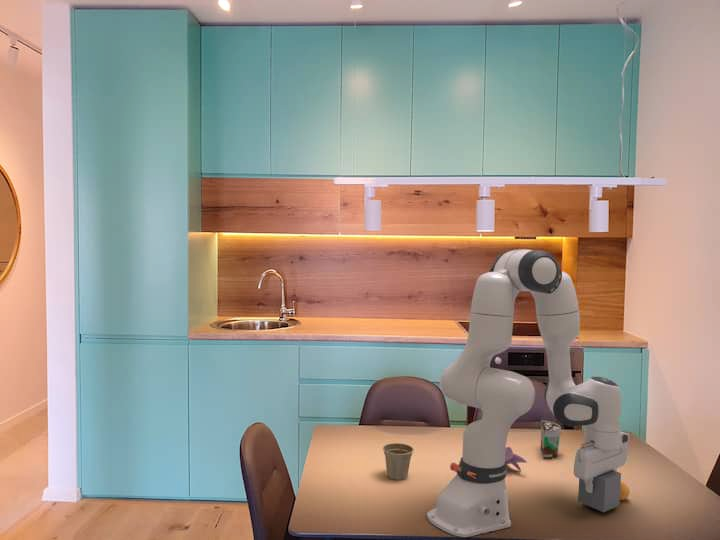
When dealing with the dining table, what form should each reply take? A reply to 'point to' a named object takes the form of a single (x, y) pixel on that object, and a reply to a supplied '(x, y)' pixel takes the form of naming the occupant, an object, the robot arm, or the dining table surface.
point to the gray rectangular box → (602, 491)
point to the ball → (624, 491)
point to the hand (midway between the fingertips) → (599, 487)
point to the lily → (513, 458)
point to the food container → (550, 439)
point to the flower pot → (397, 460)
